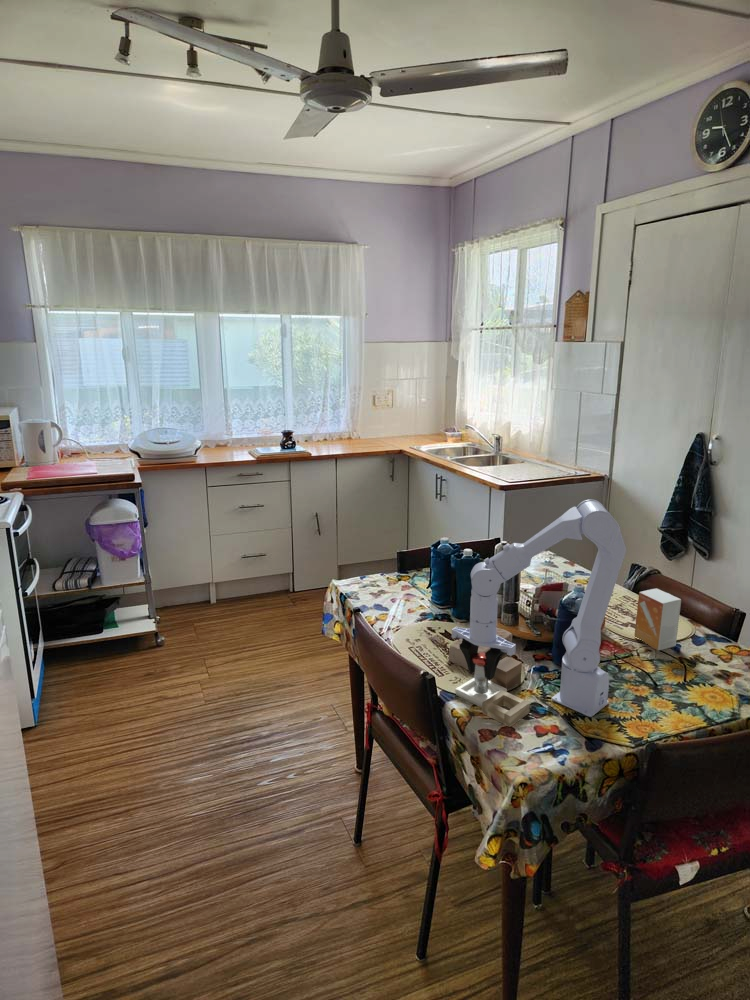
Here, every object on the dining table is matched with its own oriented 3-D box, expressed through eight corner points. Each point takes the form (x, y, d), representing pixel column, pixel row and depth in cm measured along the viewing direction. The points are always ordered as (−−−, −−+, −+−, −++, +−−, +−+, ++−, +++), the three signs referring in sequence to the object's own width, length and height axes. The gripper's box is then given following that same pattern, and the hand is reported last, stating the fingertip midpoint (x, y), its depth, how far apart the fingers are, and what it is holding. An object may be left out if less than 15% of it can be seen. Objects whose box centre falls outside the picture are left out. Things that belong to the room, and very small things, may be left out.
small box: (633, 637, 168) (638, 591, 165) (651, 633, 170) (656, 587, 167) (657, 651, 161) (663, 603, 157) (676, 646, 163) (682, 598, 160)
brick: (474, 673, 152) (475, 655, 151) (446, 661, 158) (446, 643, 156) (512, 649, 163) (513, 632, 162) (485, 639, 169) (486, 622, 168)
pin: (493, 692, 140) (494, 658, 139) (478, 696, 139) (479, 662, 137) (483, 684, 144) (484, 651, 142) (468, 688, 142) (468, 654, 141)
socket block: (529, 713, 135) (529, 702, 135) (509, 727, 130) (510, 716, 130) (501, 700, 140) (502, 689, 139) (482, 712, 135) (482, 702, 135)
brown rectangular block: (520, 682, 147) (521, 662, 146) (505, 691, 143) (506, 671, 142) (506, 675, 150) (507, 656, 149) (490, 685, 146) (491, 665, 145)
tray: (506, 694, 142) (506, 688, 142) (484, 709, 137) (484, 702, 136) (477, 681, 148) (477, 675, 147) (455, 694, 142) (455, 688, 142)
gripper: (523, 620, 136) (520, 677, 140) (463, 603, 145) (461, 658, 148) (508, 632, 131) (505, 691, 134) (447, 614, 140) (446, 670, 143)
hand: (481, 674), depth 141 cm, fingers closed on pin, 4 cm apart
